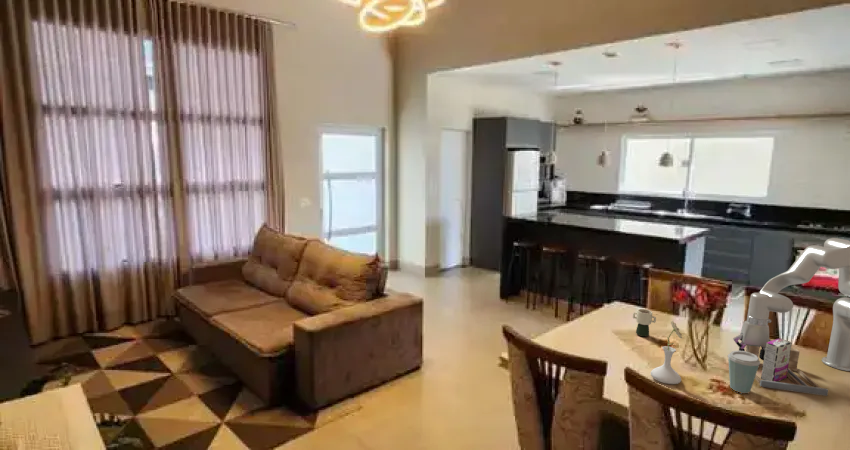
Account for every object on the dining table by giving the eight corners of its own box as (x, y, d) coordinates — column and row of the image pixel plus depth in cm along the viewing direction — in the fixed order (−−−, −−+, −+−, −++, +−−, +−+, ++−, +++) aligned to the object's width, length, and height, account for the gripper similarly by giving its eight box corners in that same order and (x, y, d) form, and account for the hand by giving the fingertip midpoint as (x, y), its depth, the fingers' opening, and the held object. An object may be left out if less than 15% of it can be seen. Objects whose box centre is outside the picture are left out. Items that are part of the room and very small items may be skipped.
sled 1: (777, 365, 207) (780, 345, 206) (804, 390, 186) (808, 367, 184) (738, 360, 211) (741, 340, 210) (760, 383, 190) (763, 361, 188)
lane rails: (799, 371, 202) (800, 366, 201) (827, 395, 182) (828, 390, 181) (740, 364, 208) (740, 358, 207) (760, 386, 187) (761, 380, 187)
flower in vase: (679, 389, 182) (687, 330, 178) (648, 381, 188) (655, 323, 184) (681, 377, 193) (689, 320, 189) (652, 369, 199) (658, 314, 195)
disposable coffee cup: (744, 398, 177) (749, 362, 175) (717, 385, 187) (722, 351, 185) (761, 394, 182) (767, 358, 179) (733, 381, 191) (739, 347, 189)
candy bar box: (773, 373, 200) (779, 337, 197) (786, 378, 195) (793, 342, 193) (759, 378, 195) (765, 341, 192) (772, 383, 190) (778, 346, 188)
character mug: (654, 335, 238) (657, 311, 235) (652, 339, 232) (655, 315, 230) (632, 330, 244) (635, 307, 242) (629, 334, 238) (632, 310, 236)
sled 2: (794, 367, 206) (797, 348, 204) (822, 392, 184) (826, 371, 183) (781, 366, 207) (784, 347, 206) (808, 390, 185) (812, 369, 184)
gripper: (775, 320, 207) (769, 356, 210) (732, 315, 211) (726, 351, 214) (783, 326, 200) (777, 364, 203) (738, 321, 204) (732, 358, 207)
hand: (751, 357), depth 208 cm, fingers open, 7 cm apart
